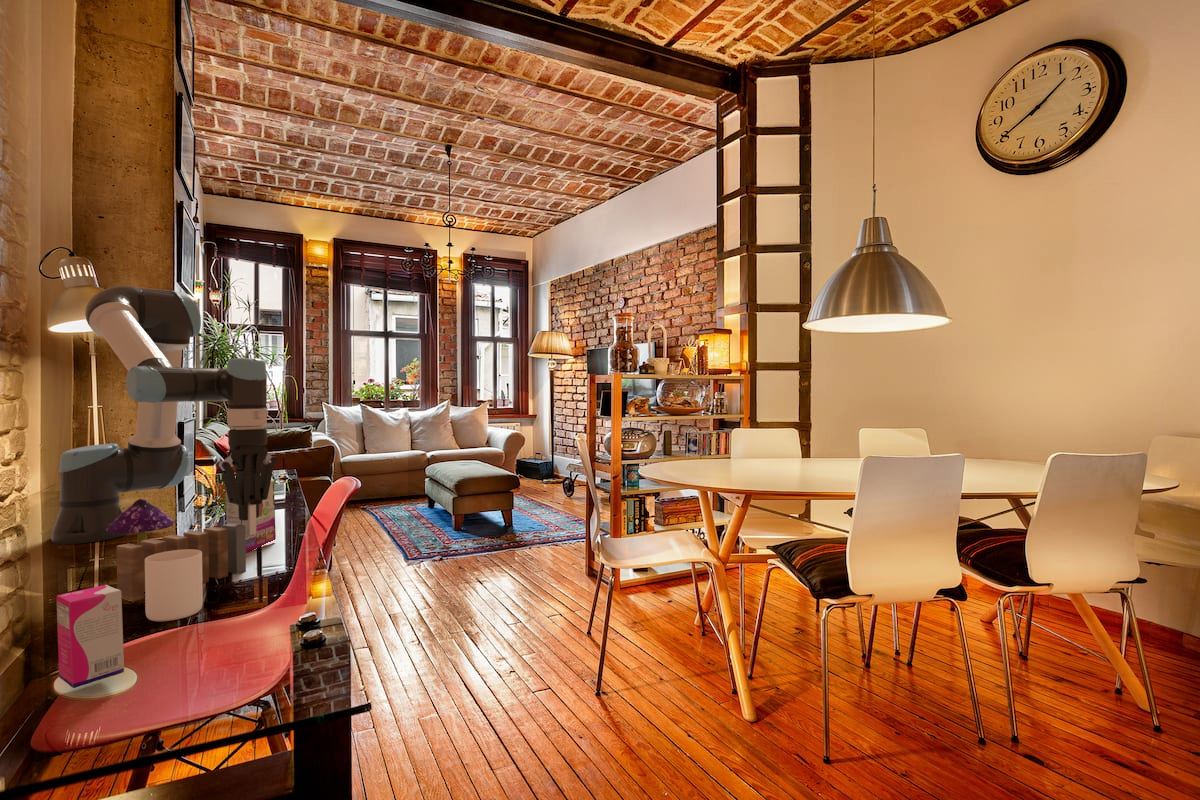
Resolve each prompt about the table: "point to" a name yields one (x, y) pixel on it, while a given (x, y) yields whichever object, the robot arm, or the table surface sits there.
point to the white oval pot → (173, 584)
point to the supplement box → (90, 635)
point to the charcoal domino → (236, 547)
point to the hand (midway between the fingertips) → (249, 533)
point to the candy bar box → (263, 522)
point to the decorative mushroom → (140, 520)
